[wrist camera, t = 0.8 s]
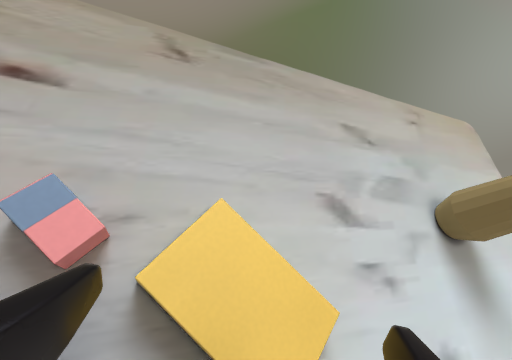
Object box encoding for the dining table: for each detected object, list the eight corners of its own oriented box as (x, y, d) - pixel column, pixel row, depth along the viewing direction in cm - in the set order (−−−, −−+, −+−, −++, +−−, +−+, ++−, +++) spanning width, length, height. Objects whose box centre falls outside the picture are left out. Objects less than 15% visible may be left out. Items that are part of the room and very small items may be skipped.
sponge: (320, 312, 27) (340, 313, 24) (267, 415, 21) (285, 431, 18) (214, 209, 28) (221, 197, 25) (136, 281, 22) (134, 277, 19)
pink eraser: (110, 235, 23) (105, 226, 20) (65, 270, 21) (53, 264, 18) (63, 187, 23) (52, 171, 21) (13, 215, 21) (-6, 202, 18)
